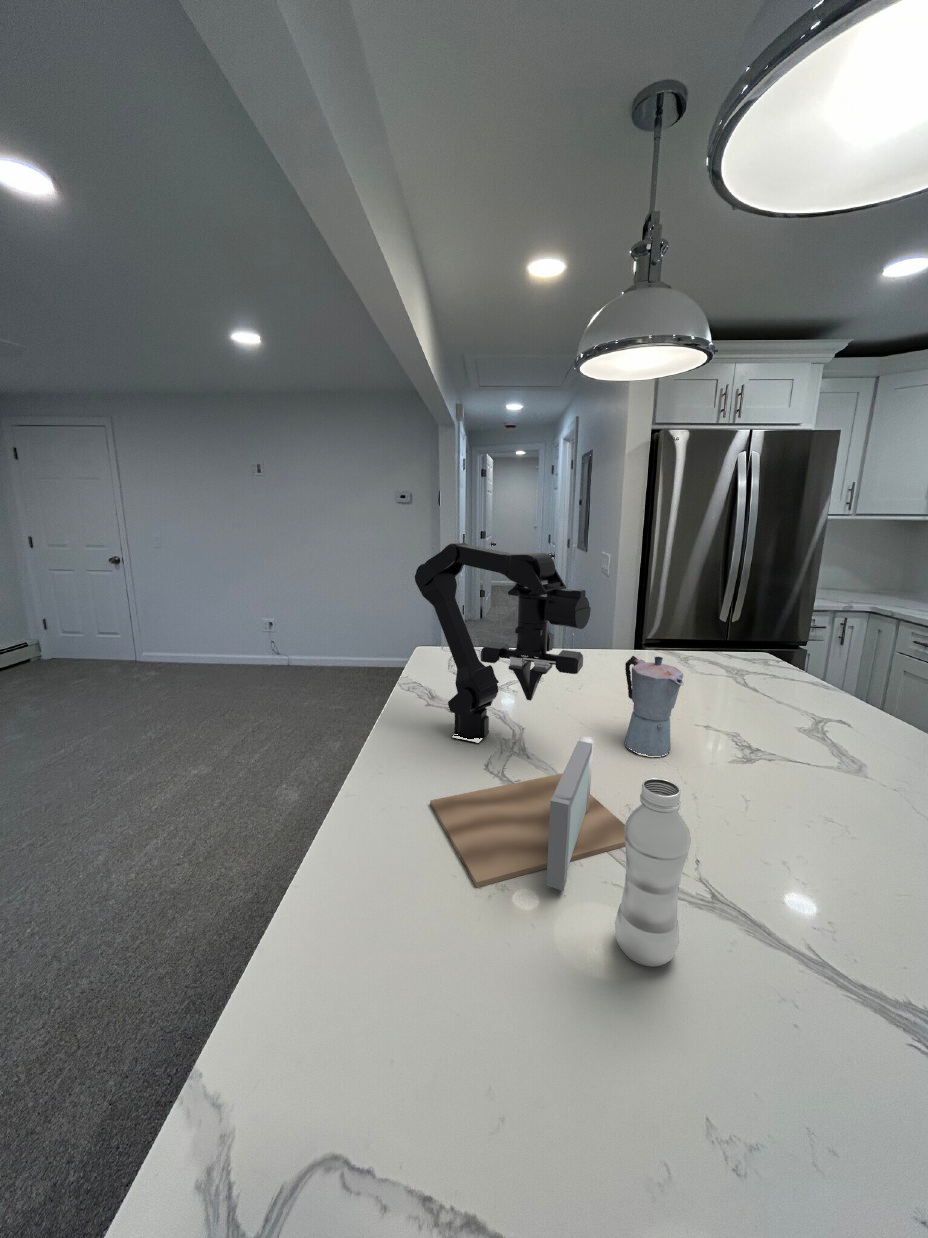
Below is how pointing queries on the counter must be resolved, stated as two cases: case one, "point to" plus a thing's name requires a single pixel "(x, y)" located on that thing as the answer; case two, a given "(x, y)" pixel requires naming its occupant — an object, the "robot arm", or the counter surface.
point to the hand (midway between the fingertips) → (529, 699)
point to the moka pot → (651, 705)
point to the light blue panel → (568, 811)
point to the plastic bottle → (653, 875)
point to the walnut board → (517, 829)
